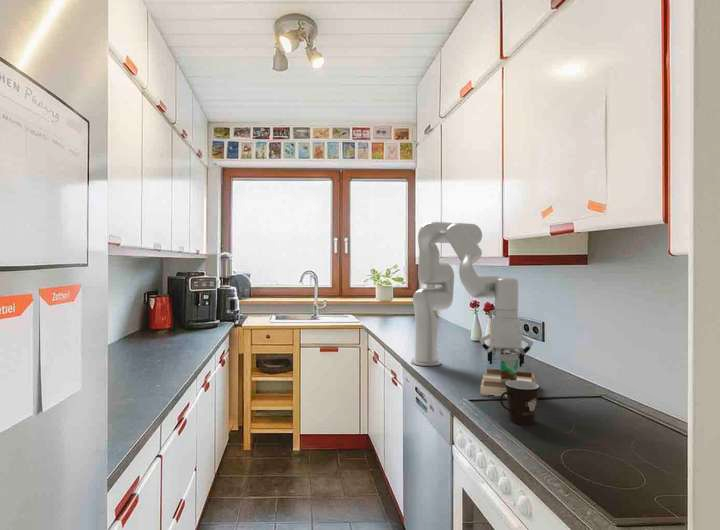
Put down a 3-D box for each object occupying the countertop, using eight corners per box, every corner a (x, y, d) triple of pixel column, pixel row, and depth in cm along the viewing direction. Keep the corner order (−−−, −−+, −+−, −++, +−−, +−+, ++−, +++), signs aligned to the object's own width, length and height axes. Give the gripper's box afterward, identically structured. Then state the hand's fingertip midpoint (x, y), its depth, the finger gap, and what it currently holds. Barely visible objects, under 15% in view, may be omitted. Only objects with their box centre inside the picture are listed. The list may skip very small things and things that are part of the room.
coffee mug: (530, 415, 129) (530, 380, 129) (544, 426, 120) (544, 389, 120) (490, 415, 128) (490, 380, 128) (500, 427, 120) (501, 389, 119)
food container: (520, 386, 147) (520, 355, 146) (501, 385, 148) (500, 354, 148) (519, 376, 158) (519, 348, 158) (500, 375, 160) (500, 347, 160)
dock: (484, 380, 165) (484, 368, 165) (534, 385, 159) (534, 372, 159) (480, 394, 148) (480, 381, 148) (536, 400, 142) (536, 386, 142)
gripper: (479, 314, 153) (478, 365, 153) (533, 317, 147) (533, 369, 147) (480, 311, 160) (480, 360, 160) (533, 314, 154) (532, 364, 154)
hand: (505, 364), depth 154 cm, fingers open, 9 cm apart
